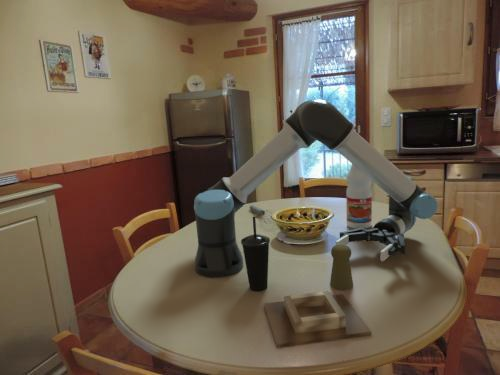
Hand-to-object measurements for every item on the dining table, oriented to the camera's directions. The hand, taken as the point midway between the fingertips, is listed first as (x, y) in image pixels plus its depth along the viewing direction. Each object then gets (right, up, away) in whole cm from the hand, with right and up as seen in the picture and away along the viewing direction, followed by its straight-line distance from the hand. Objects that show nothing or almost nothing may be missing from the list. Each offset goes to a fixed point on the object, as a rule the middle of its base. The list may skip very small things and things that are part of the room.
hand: (358, 250), depth 102 cm
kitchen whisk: (-25, +4, +59) cm, 64 cm away
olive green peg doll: (-6, -8, -5) cm, 12 cm away
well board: (-16, -12, -20) cm, 28 cm away
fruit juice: (+12, +3, +40) cm, 42 cm away
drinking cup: (-28, -9, -4) cm, 30 cm away
